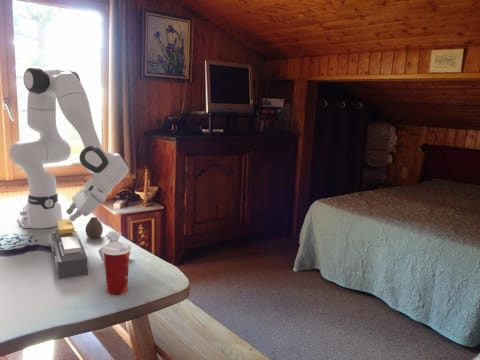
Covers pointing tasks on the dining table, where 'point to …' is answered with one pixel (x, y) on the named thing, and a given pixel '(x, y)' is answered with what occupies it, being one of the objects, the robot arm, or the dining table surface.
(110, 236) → the bust
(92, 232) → the vase
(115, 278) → the coffee cup
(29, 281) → the dining table surface
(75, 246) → the white flat block
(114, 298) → the dining table surface
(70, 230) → the amber switch
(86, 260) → the power strip
